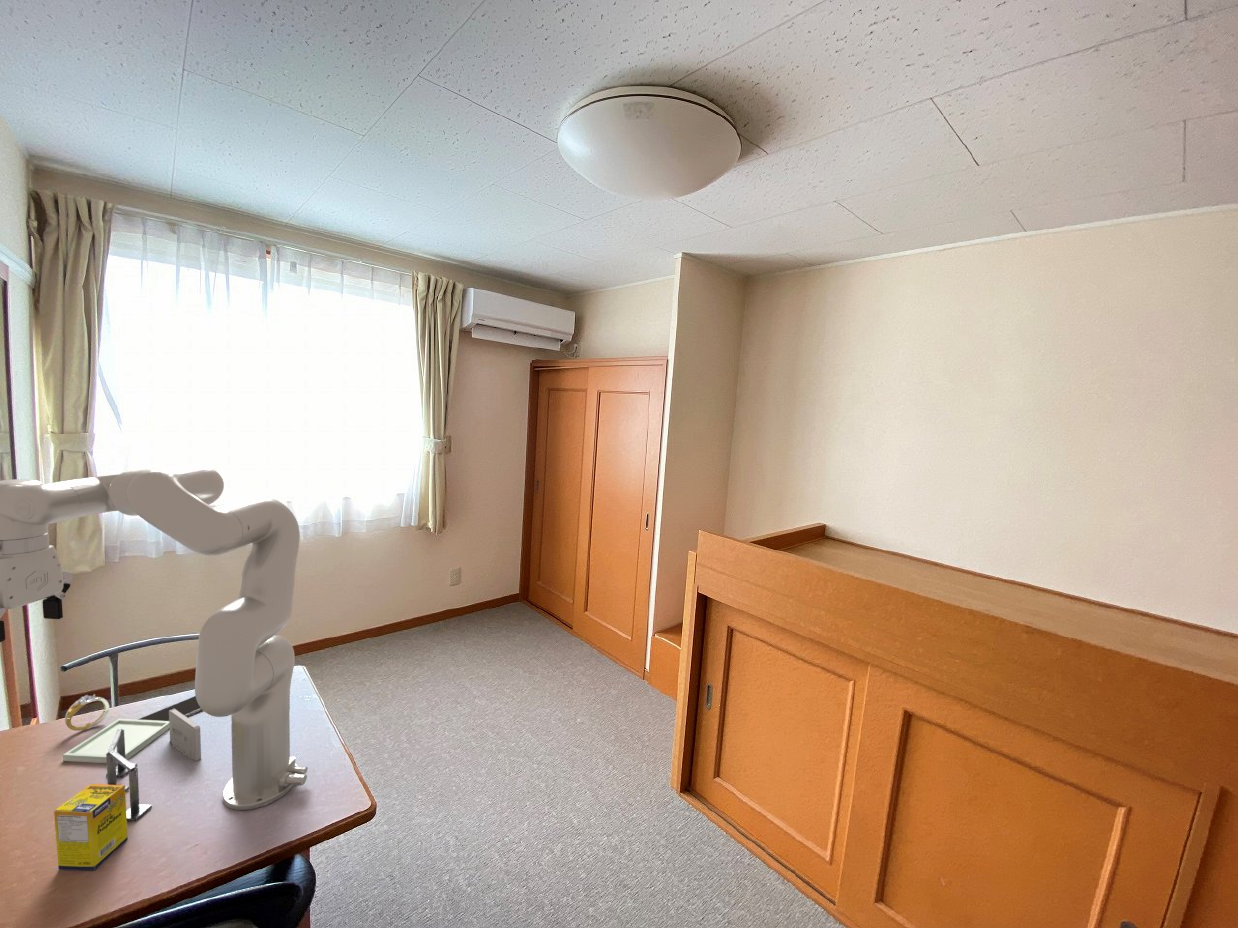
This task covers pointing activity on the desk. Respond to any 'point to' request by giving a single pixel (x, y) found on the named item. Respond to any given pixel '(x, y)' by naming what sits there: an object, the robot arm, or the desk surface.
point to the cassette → (185, 735)
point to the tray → (99, 743)
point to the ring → (83, 701)
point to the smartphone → (183, 707)
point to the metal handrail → (120, 771)
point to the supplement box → (91, 827)
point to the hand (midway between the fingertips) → (25, 629)
